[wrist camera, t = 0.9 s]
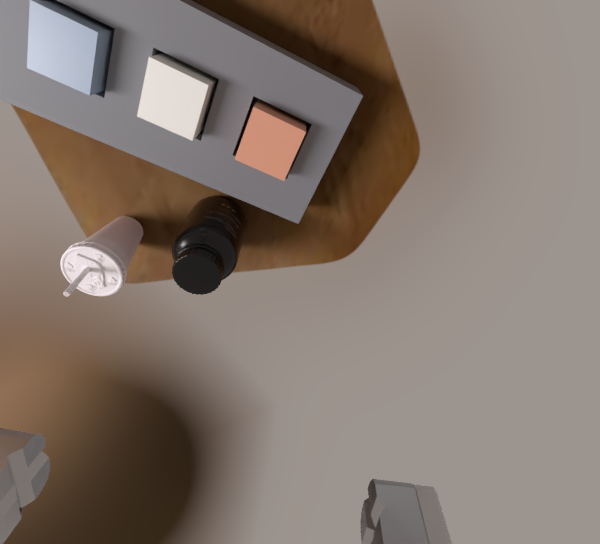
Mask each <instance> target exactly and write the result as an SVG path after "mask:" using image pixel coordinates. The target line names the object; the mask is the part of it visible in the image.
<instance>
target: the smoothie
mask: <svg viewBox="0 0 600 544" xmlns="http://www.w3.org/2000/svg"><path fill="white" fill-rule="evenodd" d="M142 237H143V228H142V226H141V224H140V223H139V222H138V221H137V220H135V219H134V218H132V217H129V216H120V217H118V218H116V219H115V220H114V221H112V222H111V223H109V224H108V225H106V226H105V227H103V228H102V229H100V230H99V231H97V232H96V233H94V234H93V235H92V236H90V237H89V238H87V239H85V240H84V241H83V242H79V243H76V244H74V245H72V246H70V247H69V248H68V249H67V251H66V252H65V253H64V254H63V256H62V258H61V263H60V265H61V270H62V272H63V275H64V276H65V278H66V279H67V280H68V281H69V282H70V283H71V284H70V286H69V287H68V288H67V289H66V290H65V291H64V292H63V294H64V295H65V296H69V295H70V294H71V293H72V292H73V290H74V289H75V288H77V289H79V290H80V291H82V292H85V293H87V294H90V295H95V296H107V295H111V294H114V293H115V292H117V291H118V290H119V289H120V287H121V286H122V285H124V283H125V281H126V277H127V270H128V267H129V265H130V263H131V261H132V258H133V256H134V254H135V252H136V250H137V247H138V245H139V243H140V241H141V239H142Z"/></svg>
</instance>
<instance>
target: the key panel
mask: <svg viewBox="0 0 600 544" xmlns="http://www.w3.org/2000/svg"><path fill="white" fill-rule="evenodd" d="M43 1H58V2H61V3H63V4H65V5H67V6H69V7H71V8H73V9H75V10H77V11H79V12H81V13H84V14H86V15H88V16H90V17H92V18H94V19H96V20H98V21H100V22H102V23H104V24H106V25H108V26H110V27H112V28H114V29H115V30H114V37H113V44H112V50H111V57H110V63H109V70H108V77H107V83H106V90H104V91H101V92H98V93H95V94H93V95H87V94H85V93H83V92H80V91H78V90H76V89H74V88H71V87H69V86H67V85H65V84H62V83H60V82H58V81H56V80H53V79H51V78H49V77H46V76H44V75H42V74H40V73H37V72H35V71H33V70H31V69H28V68H27V54H28V30H29V7H30V0H0V100H2V101H5V102H7V103H10V104H12V105H14V106H17V107H19V108H22V109H24V110H26V111H29V112H31V113H34V114H36V115H38V116H41V117H43V118H46V119H48V120H50V121H53V122H55V123H57V124H60V125H62V126H65V127H67V128H69V129H72V130H74V131H77V132H79V133H81V134H84V135H86V136H89V137H91V138H93V139H96V140H98V141H101V142H103V143H105V144H108V145H110V146H113V147H115V148H117V149H120V150H122V151H125V152H127V153H129V154H132V155H134V156H136V157H139V158H141V159H144V160H146V161H148V162H151V163H153V164H156V165H158V166H160V167H163V168H165V169H168V170H170V171H172V172H175V173H177V174H180V175H182V176H184V177H187V178H189V179H192V180H194V181H196V182H199V183H201V184H204V185H206V186H208V187H211V188H213V189H216V190H218V191H220V192H223V193H225V194H227V195H230V196H232V197H235V198H237V199H239V200H242V201H244V202H247V203H249V204H251V205H254V206H256V207H259V208H261V209H263V210H266V211H268V212H271V213H273V214H275V215H278V216H280V217H283V218H285V219H287V220H290V221H292V222H295V223H297V224H299V222H300V220H301V218H302V216H303V214H304V212H305V210H306V208H307V206H308V204H309V202H310V200H311V198H312V196H313V194H314V192H315V190H316V188H317V186H318V184H319V182H320V180H321V178H322V176H323V174H324V172H325V170H326V168H327V166H328V164H329V163H330V161H331V159H332V157H333V155H334V153H335V151H336V149H337V147H338V145H339V143H340V141H341V139H342V137H343V135H344V133H345V131H346V129H347V127H348V125H349V123H350V121H351V119H352V117H353V115H354V113H355V111H356V109H357V107H358V105H359V103H360V101H361V99H362V97H363V95H362V93H361V92H360V91H359V89H358V88H357V87H356V86H354V85H352V84H350V83H348V82H346V81H344V80H342V79H340V78H338V77H337V76H335V75H333V74H331V73H329V72H327V71H325V70H323V69H321V68H319V67H317V66H316V65H314V64H312V63H310V62H308V61H306V60H304V59H302V58H300V57H298V56H297V55H295V54H293V53H291V52H289V51H287V50H285V49H283V48H281V47H279V46H277V45H276V44H274V43H272V42H270V41H268V40H266V39H264V38H262V37H260V36H258V35H257V34H255V33H253V32H251V31H249V30H247V29H245V28H243V27H241V26H239V25H237V24H236V23H234V22H232V21H230V20H228V19H226V18H224V17H222V16H220V15H218V14H217V13H215V12H213V11H211V10H209V9H207V8H205V7H203V6H201V5H199V4H197V3H196V2H194V1H192V0H43ZM162 53H166V54H168V55H170V56H172V57H174V58H176V59H178V60H180V61H182V62H184V63H186V64H189V65H191V66H193V67H195V68H197V69H199V70H201V71H203V72H205V73H207V74H209V75H211V76H213V77H215V78H217V79H218V83H217V86H216V89H215V93H214V96H213V99H212V103H211V106H210V109H209V113H208V116H207V119H206V123H205V126H204V129H203V130H202V131H201V132H200V133H199V134H198V135H197V137H196V138H195V139H194V140H193V141H192V140H189V139H187V138H185V137H183V136H180V135H178V134H176V133H173V132H171V131H169V130H167V129H164V128H162V127H160V126H158V125H155V124H153V123H151V122H149V121H146V120H144V119H142V118H139V117H137V113H138V108H139V103H140V98H141V93H142V88H143V83H144V78H145V73H146V69H147V64H148V59H149V57H150V56H154V55H158V54H162ZM258 98H259V99H261V100H263V101H265V102H267V103H269V104H271V105H273V106H275V107H277V108H279V109H281V110H283V111H285V112H287V113H289V114H292V115H294V116H296V117H298V118H300V119H302V120H304V121H306V134H305V136H304V138H303V140H302V142H301V145H300V147H299V149H298V151H297V154H296V156H295V158H294V160H293V162H292V165H291V167H290V169H289V171H288V174H287V176H286V178H285V180H284V181H282V180H280V179H278V178H275V177H273V176H271V175H269V174H266V173H264V172H262V171H260V170H257V169H255V168H253V167H251V166H248V165H246V164H244V163H241V162H239V161H237V160H235V156H236V154H237V151H238V148H239V145H240V143H241V140H242V137H243V134H244V132H245V129H246V126H247V123H248V120H249V118H250V115H251V112H252V109H253V107H254V105H255V103H256V102H257V100H258Z"/></svg>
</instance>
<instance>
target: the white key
mask: <svg viewBox="0 0 600 544" xmlns="http://www.w3.org/2000/svg"><path fill="white" fill-rule="evenodd" d="M217 83H218V79H217V78H215V77H213V76H211V75H209V74H207V73H205V72H203V71H201V70H199V69H197V68H195V67H193V66H191V65H189V64H186V63H184V62H182V61H180V60H178V59H176V58H174V57H172V56H170V55H168V54H166V53H162V54H158V55H154V56H150V57H149V59H148V64H147V69H146V73H145V78H144V83H143V88H142V93H141V98H140V103H139V108H138V113H137V117H139V118H142V119H144V120H146V121H149V122H151V123H153V124H155V125H158V126H160V127H162V128H164V129H167V130H169V131H171V132H173V133H176V134H178V135H180V136H183V137H185V138H187V139H189V140H192V141H193V140H194V139H195V138H196V137H197V135H198V134H199V133H200V132H201V131H202V130H203V129H204V126H205V123H206V119H207V116H208V113H209V109H210V106H211V103H212V99H213V96H214V93H215V89H216V86H217Z"/></svg>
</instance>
